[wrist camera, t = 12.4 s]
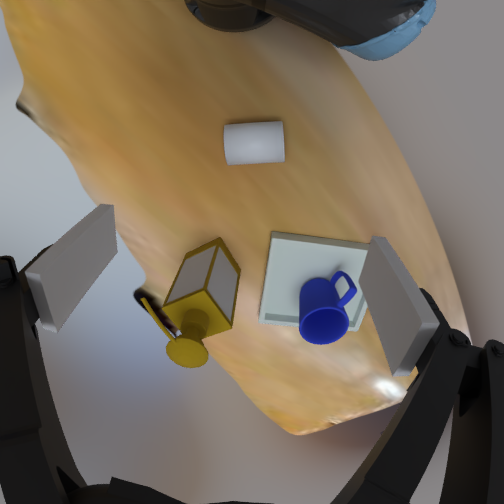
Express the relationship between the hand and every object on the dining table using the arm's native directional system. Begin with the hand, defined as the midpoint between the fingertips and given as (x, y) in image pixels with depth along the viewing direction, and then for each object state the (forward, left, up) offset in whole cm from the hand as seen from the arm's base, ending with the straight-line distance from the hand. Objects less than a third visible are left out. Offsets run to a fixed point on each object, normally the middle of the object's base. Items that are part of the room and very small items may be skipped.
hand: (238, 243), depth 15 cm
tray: (+24, +14, -35) cm, 44 cm away
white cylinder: (0, +3, -32) cm, 32 cm away
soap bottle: (+20, -7, -35) cm, 41 cm away
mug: (+24, +15, -34) cm, 44 cm away
